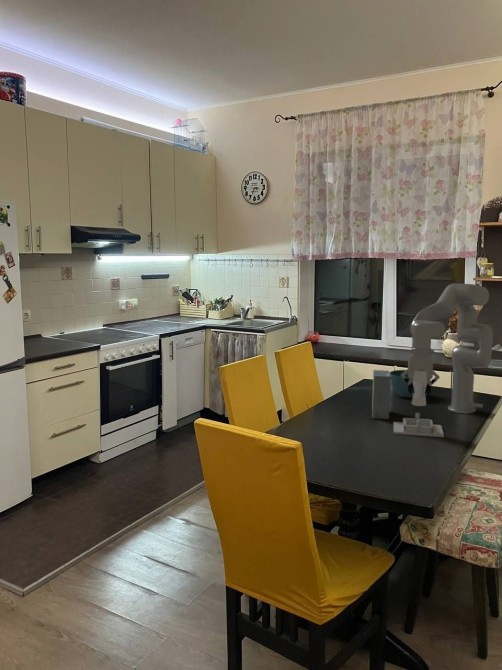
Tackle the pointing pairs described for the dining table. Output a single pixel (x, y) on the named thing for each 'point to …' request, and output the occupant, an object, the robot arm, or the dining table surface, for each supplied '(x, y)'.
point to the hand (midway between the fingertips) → (419, 393)
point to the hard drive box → (381, 394)
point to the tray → (400, 430)
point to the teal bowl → (400, 383)
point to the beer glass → (419, 388)
